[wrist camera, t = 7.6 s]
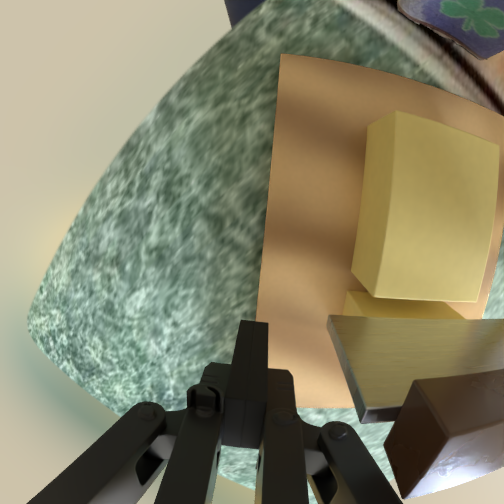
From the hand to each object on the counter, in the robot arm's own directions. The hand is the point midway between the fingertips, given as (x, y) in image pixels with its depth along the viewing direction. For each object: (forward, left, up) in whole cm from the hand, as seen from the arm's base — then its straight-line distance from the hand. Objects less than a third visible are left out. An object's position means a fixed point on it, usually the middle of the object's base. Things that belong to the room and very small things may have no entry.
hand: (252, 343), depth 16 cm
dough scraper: (-3, +9, +3) cm, 10 cm away
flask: (-24, +13, -5) cm, 27 cm away
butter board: (-5, +9, -5) cm, 11 cm away
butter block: (-8, +9, -3) cm, 13 cm away
